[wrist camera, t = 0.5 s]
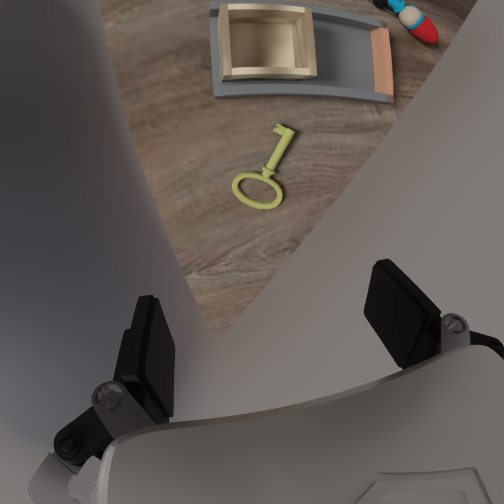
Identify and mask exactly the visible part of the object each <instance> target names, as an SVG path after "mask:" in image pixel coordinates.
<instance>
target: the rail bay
mask: <svg viewBox="0 0 504 504" xmlns="http://www.w3.org/2000/svg"><path fill="white" fill-rule="evenodd" d="M220 4H274V5H288V6H298V7H306V8H311V11H312V20H313V29H314V40H315V52H316V66H317V76H314V77H311V78H308V79H305V80H302V81H237V82H223V83H221V72H220V56H219V39H218V15H219V9H220ZM209 29H210V48H211V65H212V80H213V94H214V99H218V98H230V97H246V96H314V97H331V98H342V99H352V100H361V101H369V102H376V103H394V97H393V74H392V60H391V49H390V40H389V32H388V25H387V22H384V21H381V20H377V19H374V18H371V17H367V16H363V15H359V14H355V13H351V12H347V11H342V10H337V9H332V8H327V7H321V6H315V5H308V4H300V3H291V2H279V1H260V0H230V1H211V2H209Z"/></svg>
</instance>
